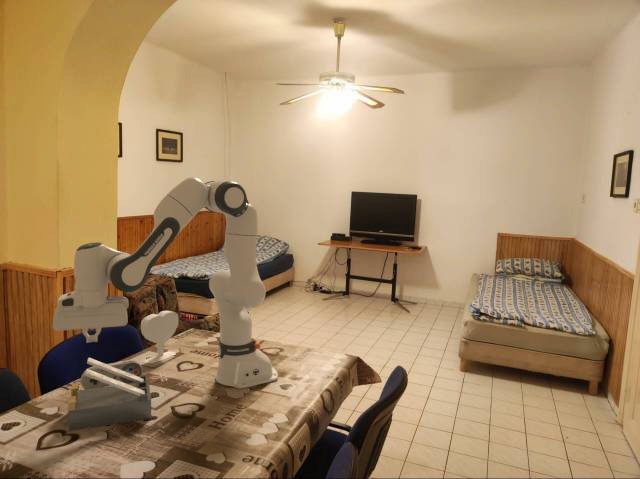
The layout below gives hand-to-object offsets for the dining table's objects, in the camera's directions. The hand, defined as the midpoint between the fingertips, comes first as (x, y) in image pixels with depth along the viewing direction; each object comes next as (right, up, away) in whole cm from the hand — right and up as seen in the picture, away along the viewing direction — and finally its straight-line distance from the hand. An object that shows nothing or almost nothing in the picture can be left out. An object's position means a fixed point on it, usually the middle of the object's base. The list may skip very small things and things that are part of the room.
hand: (91, 341), depth 144 cm
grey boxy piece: (+6, -22, +1) cm, 23 cm away
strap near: (+9, -12, -4) cm, 16 cm away
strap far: (+5, -11, +4) cm, 13 cm away
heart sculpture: (+5, -16, +46) cm, 49 cm away
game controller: (-2, -20, +19) cm, 28 cm away
